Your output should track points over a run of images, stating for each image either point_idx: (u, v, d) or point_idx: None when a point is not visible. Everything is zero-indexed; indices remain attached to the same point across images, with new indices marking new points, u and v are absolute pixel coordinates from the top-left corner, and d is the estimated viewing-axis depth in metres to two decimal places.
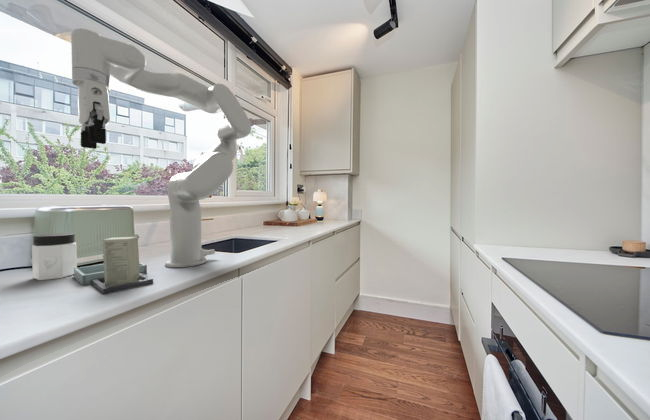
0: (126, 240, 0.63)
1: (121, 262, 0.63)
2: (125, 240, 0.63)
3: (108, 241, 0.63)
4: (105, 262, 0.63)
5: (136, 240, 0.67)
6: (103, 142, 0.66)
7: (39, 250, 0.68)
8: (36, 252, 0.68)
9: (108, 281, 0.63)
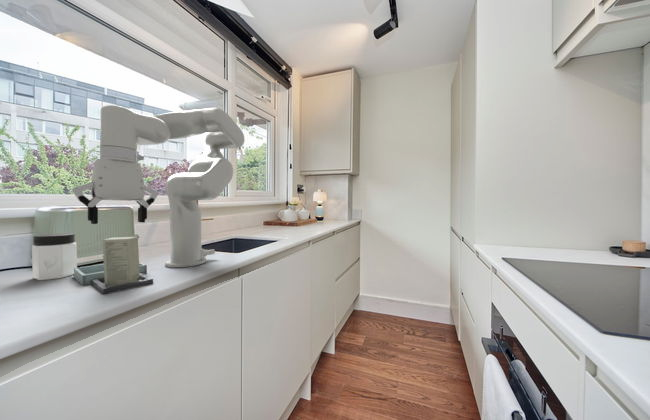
0: (126, 240, 0.63)
1: (121, 262, 0.63)
2: (125, 240, 0.63)
3: (108, 241, 0.63)
4: (105, 262, 0.63)
5: (136, 240, 0.67)
6: None
7: (39, 250, 0.68)
8: (36, 252, 0.68)
9: (108, 281, 0.63)
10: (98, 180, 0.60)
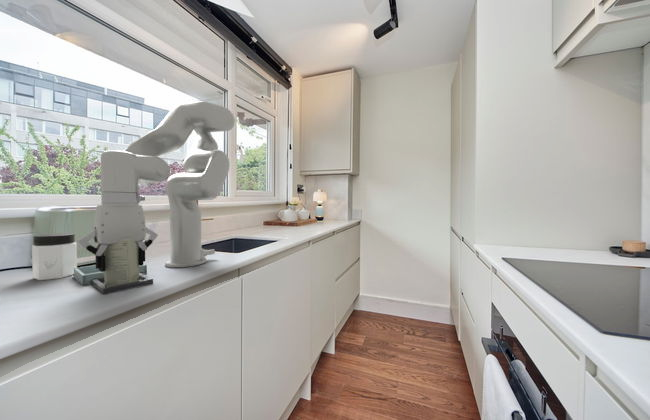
0: (126, 240, 0.63)
1: (121, 262, 0.63)
2: (125, 240, 0.63)
3: None
4: (105, 262, 0.63)
5: None
6: None
7: (39, 250, 0.68)
8: (36, 252, 0.68)
9: (108, 281, 0.63)
10: (100, 227, 0.60)
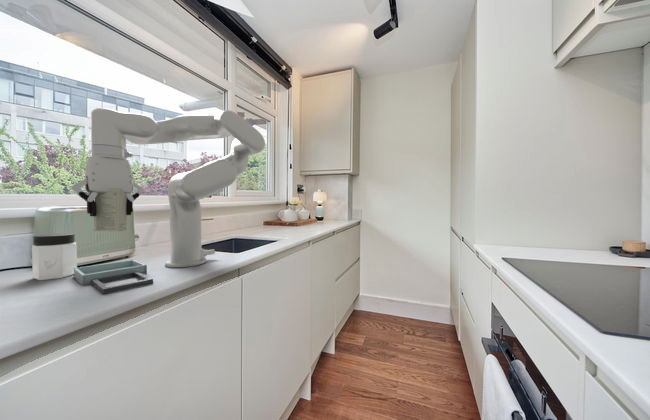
0: (116, 190, 0.71)
1: (110, 210, 0.71)
2: (115, 190, 0.71)
3: None
4: None
5: None
6: None
7: (39, 250, 0.68)
8: (36, 252, 0.68)
9: (97, 226, 0.70)
10: (91, 175, 0.67)
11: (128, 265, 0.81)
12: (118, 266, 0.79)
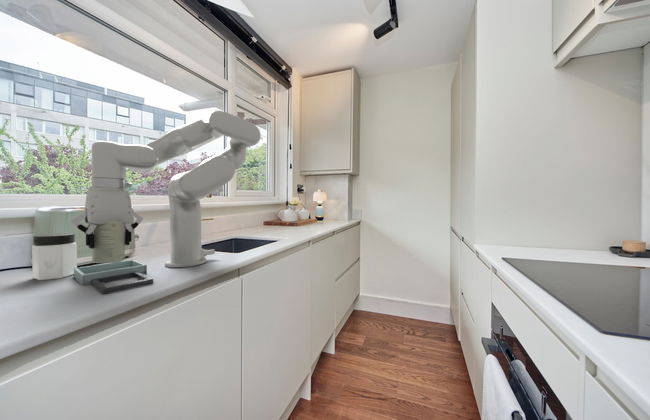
0: (115, 222, 0.71)
1: (109, 241, 0.71)
2: (114, 222, 0.71)
3: None
4: None
5: None
6: None
7: (39, 250, 0.68)
8: (36, 252, 0.68)
9: (95, 258, 0.70)
10: (90, 208, 0.68)
11: (128, 265, 0.81)
12: (118, 266, 0.79)
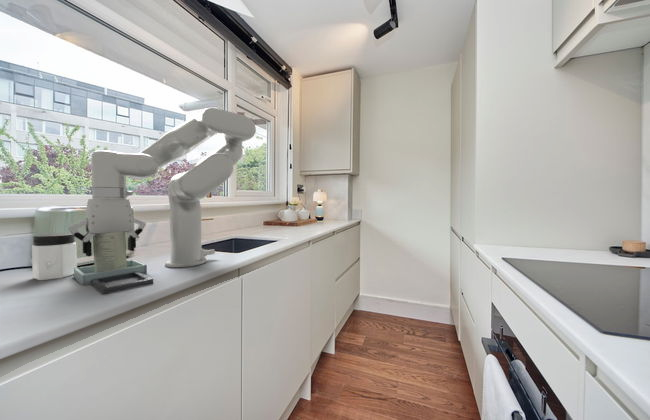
0: (113, 234, 0.71)
1: (109, 253, 0.71)
2: (112, 234, 0.71)
3: (97, 234, 0.70)
4: (95, 253, 0.71)
5: (123, 234, 0.74)
6: None
7: (39, 250, 0.68)
8: (36, 252, 0.68)
9: (97, 270, 0.71)
10: (91, 218, 0.68)
11: (128, 265, 0.81)
12: None
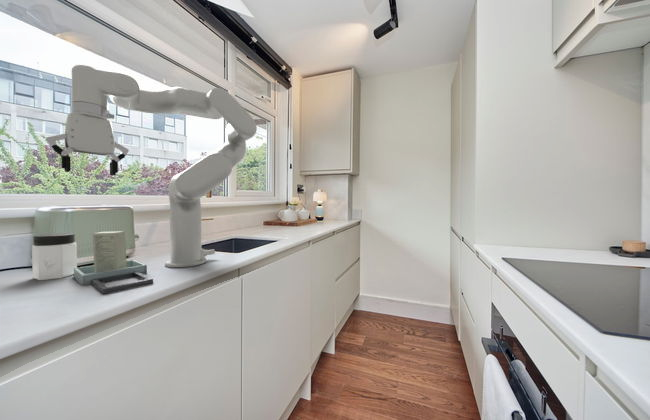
0: (113, 234, 0.71)
1: (109, 253, 0.71)
2: (112, 234, 0.71)
3: (97, 234, 0.70)
4: (95, 253, 0.70)
5: (123, 234, 0.74)
6: None
7: (39, 250, 0.68)
8: (36, 252, 0.68)
9: (97, 270, 0.71)
10: (70, 132, 0.67)
11: (128, 265, 0.81)
12: None
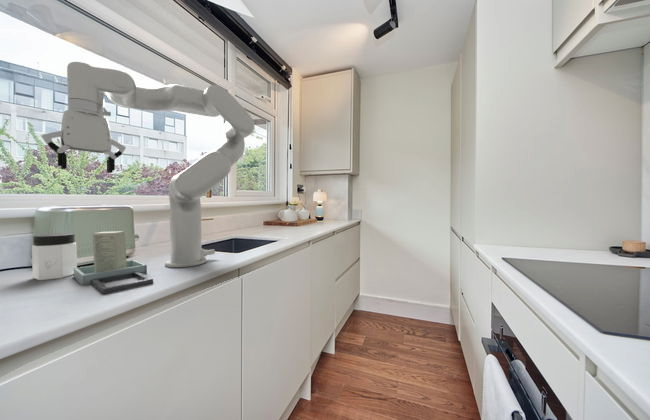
0: (113, 234, 0.71)
1: (109, 253, 0.71)
2: (112, 234, 0.71)
3: (97, 234, 0.70)
4: (95, 253, 0.70)
5: (123, 234, 0.74)
6: None
7: (39, 250, 0.68)
8: (36, 252, 0.68)
9: (97, 270, 0.71)
10: (66, 129, 0.66)
11: (128, 265, 0.81)
12: None
